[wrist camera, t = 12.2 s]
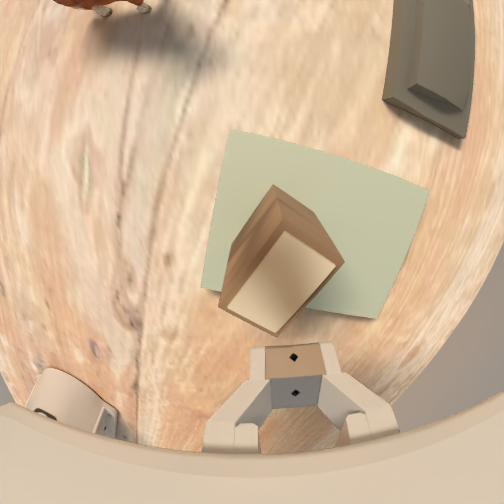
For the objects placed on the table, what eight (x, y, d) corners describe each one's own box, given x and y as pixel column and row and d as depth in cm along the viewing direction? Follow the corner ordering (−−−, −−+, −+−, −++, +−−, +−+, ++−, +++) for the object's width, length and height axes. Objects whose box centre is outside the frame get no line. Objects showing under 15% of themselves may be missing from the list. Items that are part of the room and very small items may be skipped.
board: (370, 307, 28) (375, 318, 26) (204, 276, 27) (200, 287, 25) (419, 185, 23) (429, 190, 21) (232, 129, 21) (229, 129, 19)
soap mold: (465, -1, 13) (482, -7, 9) (456, 139, 21) (477, 142, 18) (392, -44, 12) (404, -57, 9) (375, 99, 20) (392, 96, 17)
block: (271, 267, 24) (277, 340, 16) (231, 243, 23) (217, 309, 15) (313, 212, 22) (346, 264, 14) (273, 184, 21) (283, 220, 13)
